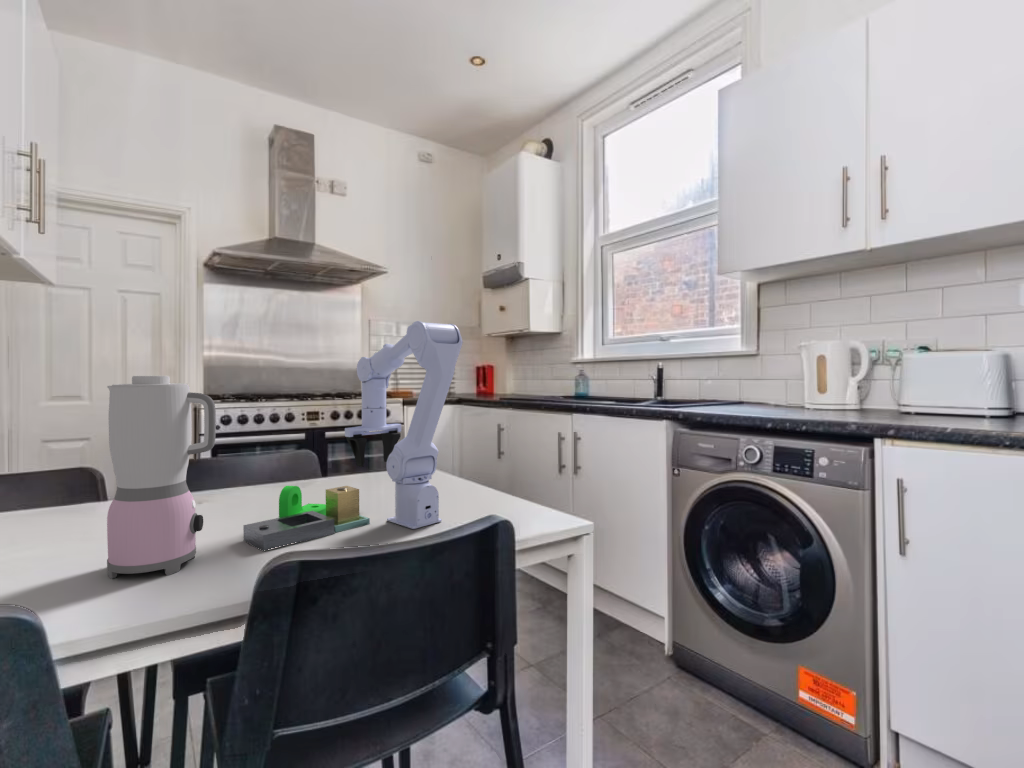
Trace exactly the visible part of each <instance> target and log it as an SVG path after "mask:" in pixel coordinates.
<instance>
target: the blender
mask: <svg viewBox="0 0 1024 768" xmlns="http://www.w3.org/2000/svg"><path fill="white" fill-rule="evenodd" d="M106 388H107V389H108V390H109V398H108V399H109V403H108V444H109V453H110V457H111V463H112V468H113V472H114V476H115V481H116V491H115V495H114V498H113V499H112V501H111V503H110V504H109V508H108V511H107V517H106V519H107V520H106V521H107V522H106V527H107V528H106V531H107V533H106V534H107V536H106V538H107V539H106V540H107V559H106V570H107V575H108V577H109V579H115V578H117V575H118V574H125V575H126V574H143V573H149V572H155V571H161V570H164V575H166V576H170V575H172V574H176V573H178V572H179V571H181V567H182V566H181V565H182V564H184V563H185V562H187V561H190V560H192V559H195V557H196V554H197V544H196V543H197V542H196V540H197V539H196V538H197V537H196V533H197V532H200V531H202V530H203V528H204V527H203V526H204V517H203V514H198V513H197V512H196V505H197V504H196V501H195V498H194V496H193V494H192V493H191V491H190V489H189V487H188V484H187V471H188V467H189V463H190V462H189V460H190V457H191V455H195V454H196V455H197V454H201V453H205V452H209V451H210V450H212V449H213V448H214V447H215V444H216V434H217V433H216V428H217V423H216V420H217V417H216V411H217V410H216V403H215V401H214V400H213V399H212V397H211V396H209V395H207V394H206V393H205V394H204V393H200V392H191V388H190V385H189V384H188V383H179V382H178V383H176V382H175V383H173V382H172V383H171V378H170V375H132V376H131V383H113V384H112V385H107V386H106ZM192 403H193V404H200V405H202V406H203V415H204V416H203V417H204V418H203V419H204V420H203V421H204V422H203V423H204V425H203V427H204V429H203V432H204V433H203V441H202V442H198V443H194V444H192V441H193V440H192V439H193V436H192V434H193V433H192V431H193V429H192V427H193V426H192V425H193V424H192V420H193V419H192Z"/></svg>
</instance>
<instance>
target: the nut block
mask: <svg viewBox="0 0 1024 768" xmlns="http://www.w3.org/2000/svg"><path fill="white" fill-rule="evenodd" d="M325 504H326V516H328V517H331V518H333V519H334V525H336V526H337V525H341V524H345V523H349V522H353V521H357V520H359V515H360V489H359V488H357V487H354V486H353V487H352V486H349V485H344V486H338V487H332V488H327V489H326V488H325Z"/></svg>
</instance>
